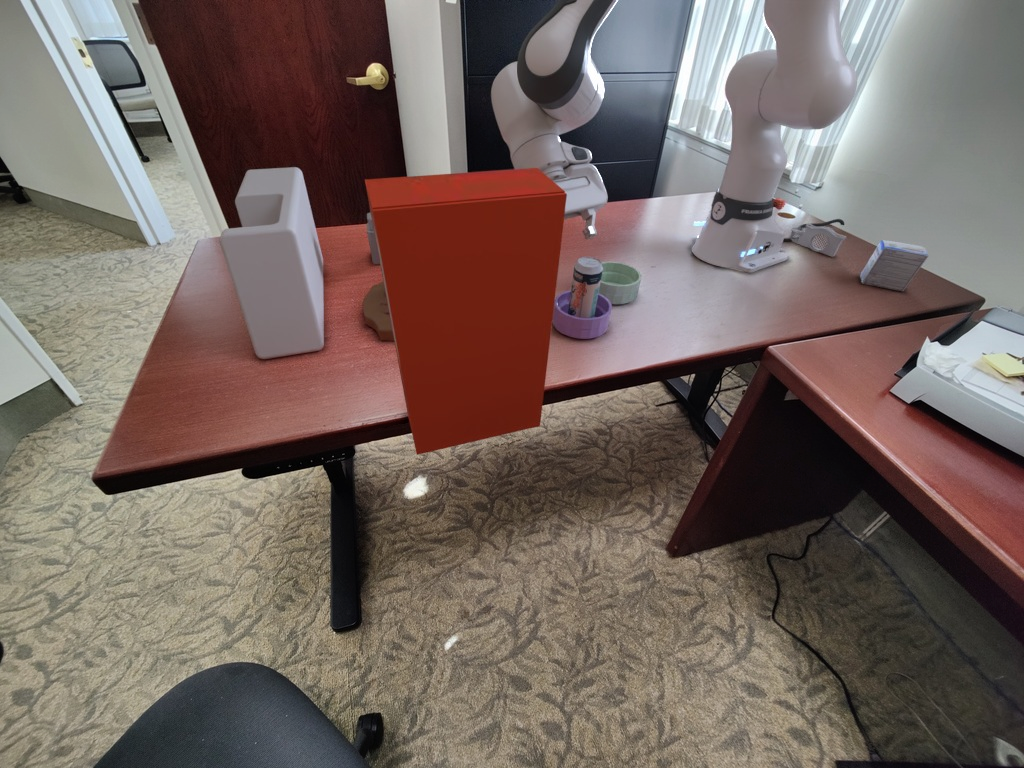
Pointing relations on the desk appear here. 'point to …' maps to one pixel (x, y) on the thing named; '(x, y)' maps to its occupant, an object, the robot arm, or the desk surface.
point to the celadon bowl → (619, 282)
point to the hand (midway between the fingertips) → (570, 243)
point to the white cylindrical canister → (585, 287)
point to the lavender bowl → (581, 326)
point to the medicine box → (893, 265)
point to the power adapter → (372, 240)
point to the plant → (378, 312)
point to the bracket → (277, 263)
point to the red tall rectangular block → (469, 297)
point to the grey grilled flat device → (811, 233)
